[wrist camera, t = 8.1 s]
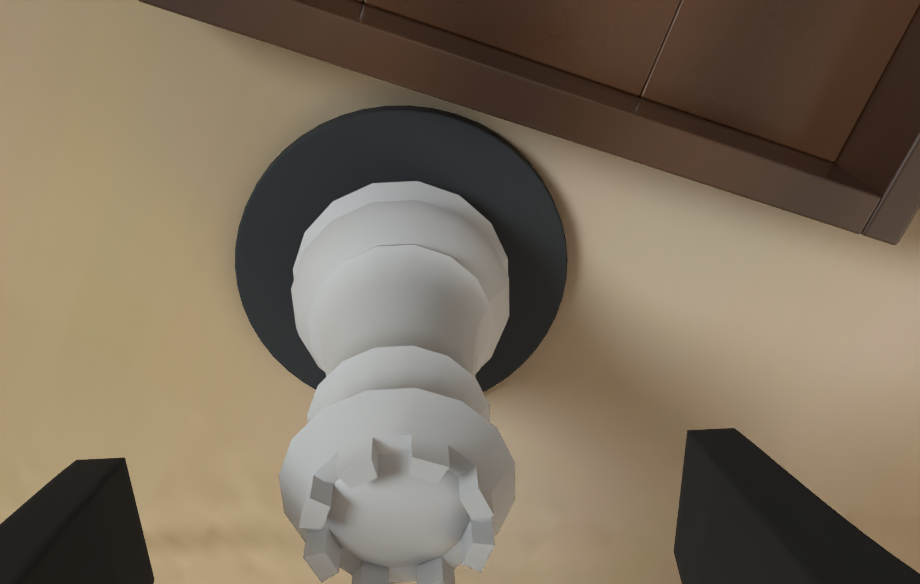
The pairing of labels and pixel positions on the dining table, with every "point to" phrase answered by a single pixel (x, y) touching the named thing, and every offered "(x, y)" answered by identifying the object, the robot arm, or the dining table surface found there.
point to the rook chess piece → (399, 388)
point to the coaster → (401, 160)
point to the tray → (656, 83)
